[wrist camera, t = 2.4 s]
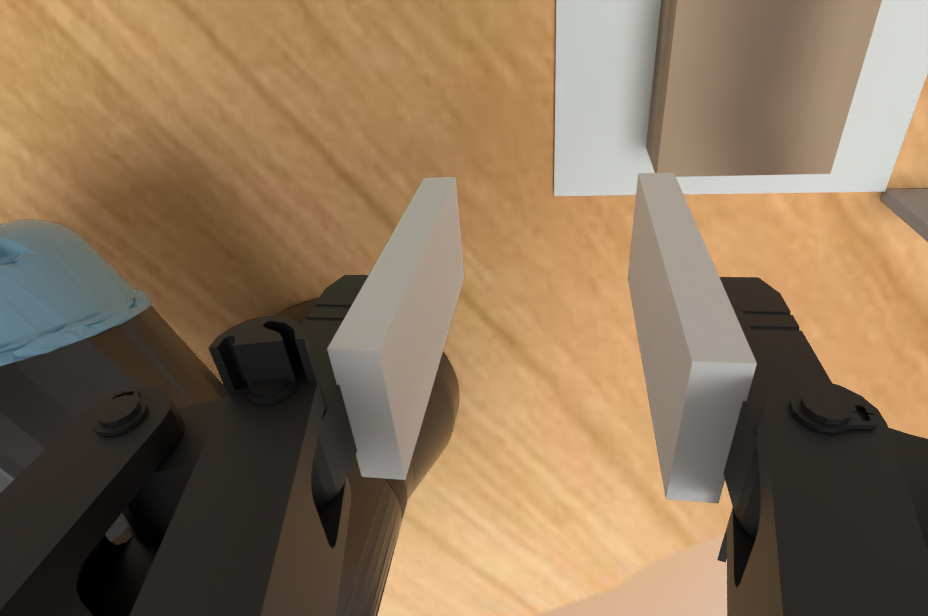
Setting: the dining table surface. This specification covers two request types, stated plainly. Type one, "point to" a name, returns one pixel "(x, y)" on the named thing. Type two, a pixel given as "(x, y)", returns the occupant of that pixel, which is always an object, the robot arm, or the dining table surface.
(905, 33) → the runner mat
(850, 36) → the brown block
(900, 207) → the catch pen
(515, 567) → the dining table surface
